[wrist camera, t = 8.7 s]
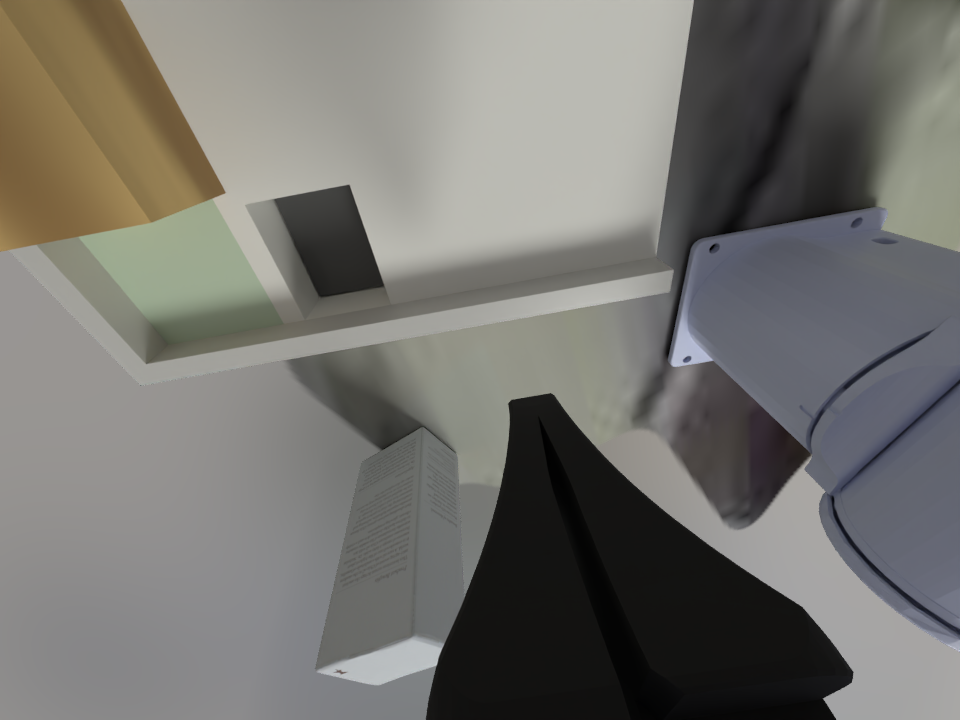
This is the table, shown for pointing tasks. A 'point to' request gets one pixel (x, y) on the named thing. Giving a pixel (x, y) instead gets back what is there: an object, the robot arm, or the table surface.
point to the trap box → (387, 176)
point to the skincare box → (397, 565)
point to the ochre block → (88, 126)
